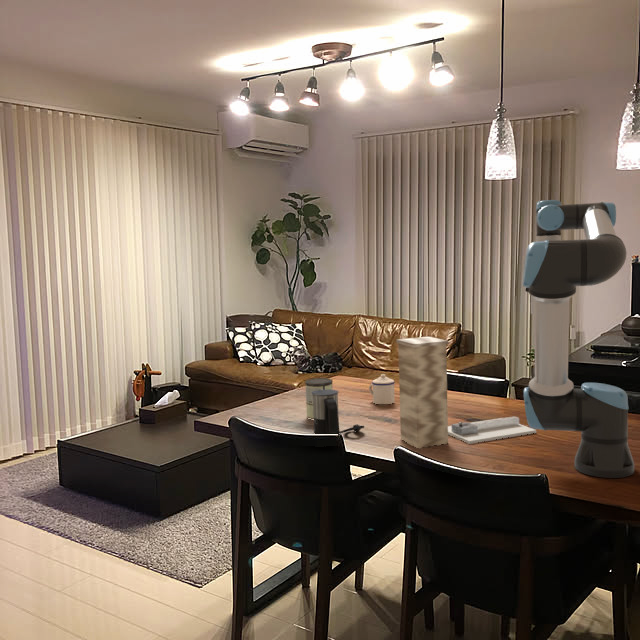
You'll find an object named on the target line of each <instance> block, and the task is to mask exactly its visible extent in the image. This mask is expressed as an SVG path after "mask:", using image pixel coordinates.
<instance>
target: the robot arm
mask: <svg viewBox="0 0 640 640" xmlns="http://www.w3.org/2000/svg"><path fill="white" fill-rule="evenodd" d="M616 207H617V206H616V204H615V203H614V202H593V203H592V202H590V203H574V204H573V203H572V204H562V202H561V201H560V200H559V199H550V200H549V199H548V200H547V199H545V200H539V201H537V202H536V209H535V213H536V214H535V215H536V217H535V218H536V219H535V221H536V239H535V241H533V242H531V243H529V244H528V245H527V248H526V254H525V260H524V267H523V275H522V276H523V277H522V286H523V288H525V290H524V291H525V292H527V293H528V294H529V302H530V303H529V304H530V314H531V315H534V377H532V379H530V380H529V382H528V386H527V387H524V388H523V401H524V402H523V403H524V410H525V411H524V412H525V416H526V421H527V424H528V427H529V428H532V429H535V430H542V431H544V432H545V431H563V432H566V431H568V432H581V433H580V434H581V438H580V443H579V446H578V448H577V452H576V453H575V456H574V469H575V470H577V471H578V472H580V473H582V474H585V475H588V476H591V477H597V478H603V479H604V478H606V479H619V478H621V479H622V478H627V477H629V476H632V475H634V473H635V462H634V459H633V456H632V453H631V450H630V447H629V444H628V440H629V439H628V436H629V435H628V431H629V430H628V424H629V423H628V422H629V421H628V420H629V416H628V414H629V409H630V408H629V400H628V398H629V397H628V394H627V392H626V391H625V390H624V389H622V388H620V387H618V386H615V385H611V384H606V383H599V382H584V383H582V384H581V386H580V388H574V387H575V385H574V382H573V381H572V380H570V379H569V344H570V343H569V338H570V336H569V333H570V332H569V331H570V299H572V297H573V296H574V295H576V293H577V287H586V286H587V287H589V286H595V285H599V284H602V283H605V282H607V281H609V280H610V279H612V278H613V277H614V276H615V275H617V274H618V273H619V272H620V270H622V268H623V266H624V265H625V262H626V259H627V248H626V245H625V243H624V241H623V240H622V238H620V237H619V236H617V234H616V231H615V228H614V227H615V225H616V223H617V222H616V221H617V208H616ZM565 230H567V231H568V230H583V232H584V236H585V237H584V239H562V231H565Z"/></svg>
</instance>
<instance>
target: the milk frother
mask: <svg viewBox="0 0 640 640" xmlns="http://www.w3.org/2000/svg"><path fill="white" fill-rule="evenodd" d="M312 395H313V416H314V421H313V433H315V434H339V433H340V434H342V433H343V434H345V433H347V432H351V431H352V432H355V431H359V432H360V431H361V430H362V429H364V428H365V426H364V425H359V424H353V425H352V427H349V428H346V429H344V430H341V431H340V422H339V421H340V420H339V390H336V389H333V390H330V389H324V390H316V391H313V392H312Z"/></svg>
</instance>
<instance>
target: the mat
mask: <svg viewBox="0 0 640 640" xmlns="http://www.w3.org/2000/svg"><path fill="white" fill-rule="evenodd" d="M501 418H502V417H499V418H497V419H501ZM494 419H495V418H493V419H491V420H494ZM488 420H489V419H487V420H486V419H485V420H484V421H488ZM481 421H482V420H480V421H479V420H478V422H481ZM475 422H476V421H473V422H471V423H475ZM533 433H534V434H537V429H533V428H531V427H530V426H526V425H523V424H521V423H519V425H515V426H509V427H502V428H496V429H490V430H484V431H478V433H476V434H470V435H464V436H461V435H459V434H457V433H454V432H452V425H448V436H451V437H452V436H453V438H454V437H455V438H454V439H457V440H458V441H461V440H462V442H463V441H464V442H463V443H465V442H466V443H465V444H468V445H473V444H478V442H479V443H484V441H485V442H489V441H495V440H496V439H497V440H502V438H503V439H508V437H509V438H515V437H521V435H522V436H527V434H528V435H533ZM497 440H496V441H497Z"/></svg>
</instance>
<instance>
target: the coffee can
mask: <svg viewBox="0 0 640 640" xmlns="http://www.w3.org/2000/svg"><path fill="white" fill-rule="evenodd" d="M304 383H305V384H304V385H305V401H306V402H305V404H306V418H307V417H308V418H311V419H314V416H313V395H312V392H313V391H316V390H324V389H330V390H334V389H333V379H332V378H326V377H315V378H310V379H307V380H304Z"/></svg>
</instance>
